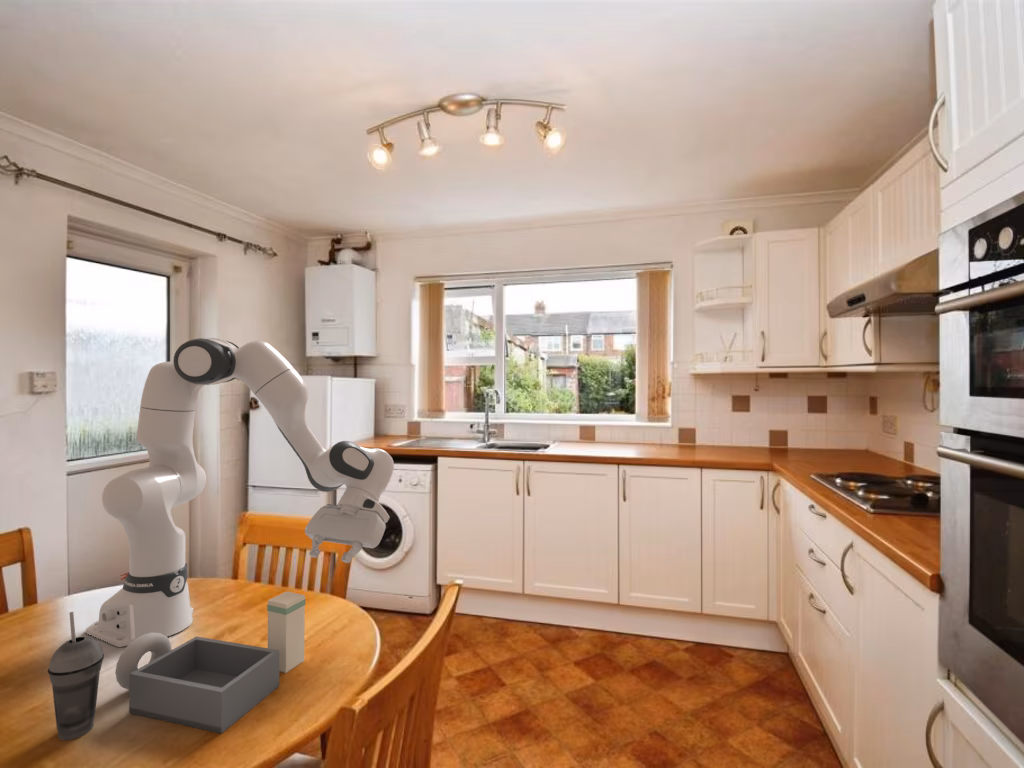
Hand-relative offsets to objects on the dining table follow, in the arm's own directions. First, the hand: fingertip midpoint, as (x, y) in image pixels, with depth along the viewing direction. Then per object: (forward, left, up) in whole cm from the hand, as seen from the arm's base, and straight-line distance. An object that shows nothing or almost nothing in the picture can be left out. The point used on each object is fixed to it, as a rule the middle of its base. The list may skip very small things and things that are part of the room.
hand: (328, 558), depth 119 cm
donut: (-23, -26, -18) cm, 39 cm away
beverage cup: (-22, -39, -18) cm, 48 cm away
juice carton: (-2, -12, -18) cm, 22 cm away
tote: (-8, -26, -18) cm, 33 cm away
